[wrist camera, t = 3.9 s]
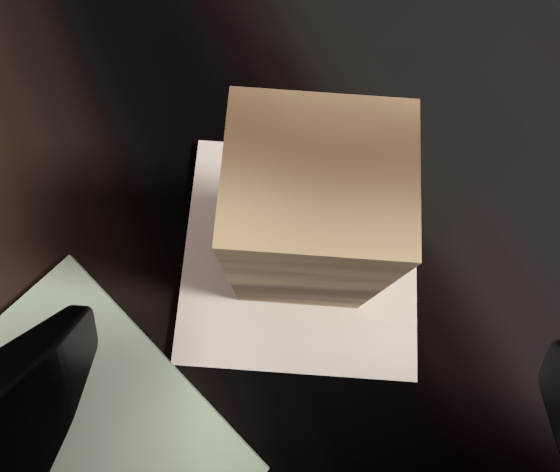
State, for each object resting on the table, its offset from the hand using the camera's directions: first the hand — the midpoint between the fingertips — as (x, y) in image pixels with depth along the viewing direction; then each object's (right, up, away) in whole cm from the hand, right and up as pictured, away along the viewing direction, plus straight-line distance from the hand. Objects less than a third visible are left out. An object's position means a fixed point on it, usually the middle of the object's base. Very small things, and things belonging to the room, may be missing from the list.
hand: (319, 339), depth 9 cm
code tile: (0, +1, +11) cm, 12 cm away
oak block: (0, +1, +11) cm, 11 cm away
